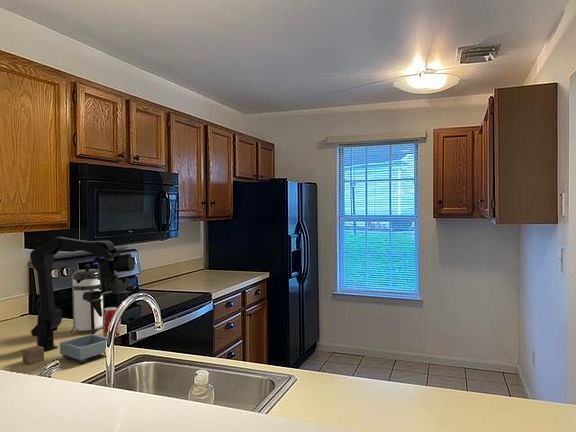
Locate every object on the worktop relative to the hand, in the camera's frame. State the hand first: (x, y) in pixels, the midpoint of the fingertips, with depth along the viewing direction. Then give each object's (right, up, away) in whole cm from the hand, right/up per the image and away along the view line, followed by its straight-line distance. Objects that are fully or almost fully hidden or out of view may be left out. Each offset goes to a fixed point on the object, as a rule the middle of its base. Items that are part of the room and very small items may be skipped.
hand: (111, 313), depth 172 cm
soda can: (-7, -14, +18) cm, 24 cm away
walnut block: (-23, -15, -12) cm, 30 cm away
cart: (-6, -14, -8) cm, 17 cm away
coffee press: (-21, -14, +29) cm, 39 cm away
